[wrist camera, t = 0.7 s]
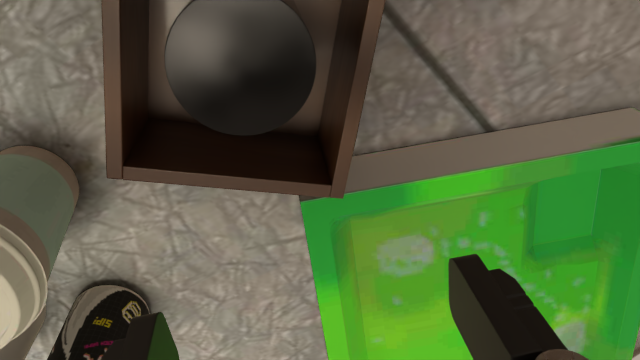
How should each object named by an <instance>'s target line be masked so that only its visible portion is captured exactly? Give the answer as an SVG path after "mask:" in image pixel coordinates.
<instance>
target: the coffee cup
mask: <svg viewBox="0 0 640 360" xmlns="http://www.w3.org/2000/svg"><path fill="white" fill-rule="evenodd" d="M78 197H79V184H78V180H77V178H76V175H75V174H74V172H73V170H72V169H71V168H70V166H69V165H68V164H67V163H66V162H65V161H64V160H62V159H61V158H60V157H58V156H57V155H55V154H54V153H52V152H50V151H47V150H45V149H42V148H38V147H34V146H15V147H10V148H7V149H5V150H3V151H1V152H0V349H2V348H3V347H4V346H6V345H7V344H8V343H9V342H10V341H11V340H13V339H15V338H17V337H18V336H19V335H21V334H22V333H23V332H25V331H26V330H27V329H28V328H29V326H30V325H31V324H32V323H33V322H34V321H35V320H36V319H37V317H38V316H39V315H40V313H41V311H42V310H43V308H44V305H45V302H46V299H47V282H48V279H49V276H50V274H51V271H52V268H53V266H54V263H55V260H56V258H57V255H58V252H59V250H60V247H61V244H62V241H63V239H64V236H65V233H66V231H67V228H68V225H69V223H70V220H71V217H72V215H73V212H74V209H75V206H76V203H77V201H78Z"/></svg>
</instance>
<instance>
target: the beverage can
mask: <svg viewBox="0 0 640 360" xmlns="http://www.w3.org/2000/svg"><path fill="white" fill-rule="evenodd" d="M147 314H150V313H149V308H148V306H147V304H146V302H145V301H144V300H143V299H142V298H141V297H140V296H139V295H138V294H137V293H135V292H133V291H132V290H129V289H127V288H124V287H120V286H114V285H102V286H97V287H93V288H91V289H88V290H86V291H85V292H83V293H82V294H81V295H79V296H78V297H77V299H76V300H75V302H74V303H73V305H72V308H71V310H70V312H69V314H68V316H67V318H66V320H65V323H64V325H63V327H62V329H61V331H60V333H59V335H58V338H57V340H56V342H55V344H54V346H53V348H52V350H51V353H50V355H49V357H48V359H47V360H101V357H102V356H103V355H104V353H105V352H106V351H107V349H108V348H109V347H110V346H111V344H112V343H113V342H114V340H119V339H124V338H126V334H127V331H128V328H129V324H130V321H131V319H132V318H133V317H137V316H142V315H147Z"/></svg>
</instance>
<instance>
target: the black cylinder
mask: <svg viewBox="0 0 640 360" xmlns="http://www.w3.org/2000/svg"><path fill="white" fill-rule="evenodd" d="M164 61H165V70H166V76H167V79H168V82H169V85H170V87H171V90H172V92H173V94H174V96H175V97H176V99H177V100H178V102H179V103H180V104H181V106H182V107H183V108H184V109H185V110H186V111H187V112H188V113H189V114H190V115H191V116H192V117H193V118H194V119H196V120H197V121H198V122H200V123H201V124H203V125H205V126H207V127H208V128H211V129H213V130H216V131H218V132H222V133H225V134H230V135H238V136H249V135H257V134H262V133H265V132H268V131H272V130H274V129H276V128H278V127H280V126H282V125H283V124H285V123H286V122H288V121H289V120H290V119H291V118H293V117H294V116H295V115H296V114H297V113H298V112H299V110H300V109H301V108H302V107H303V105H304V104H305V102H306V101H307V99H308V97H309V95H310V93H311V90H312V88H313V85H314V81H315V76H316V67H317V66H316V53H315V47H314V44H313V40H312V37H311V35H310V33H309V31H308V28H307V26H306V24H305V22H304V20H303V18H302V16H301V14H300V12H299V10H298V8H297V6H296V4H295V2H294V0H190V1H189V2H188V4H187V5H186V6H185V7H184V9H183V10H182V11H181V13H180V14H179V15H178V16H177V18H176V19H175V21H174V23H173V25H172V26H171V29H170V31H169V34H168V36H167V41H166V45H165V54H164Z"/></svg>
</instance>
